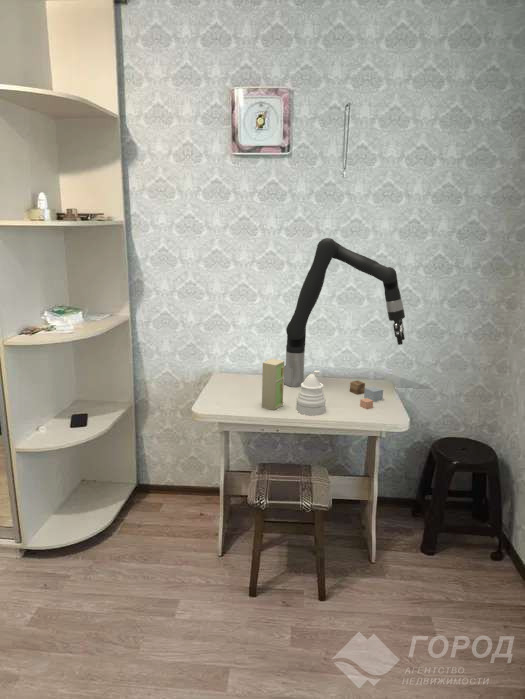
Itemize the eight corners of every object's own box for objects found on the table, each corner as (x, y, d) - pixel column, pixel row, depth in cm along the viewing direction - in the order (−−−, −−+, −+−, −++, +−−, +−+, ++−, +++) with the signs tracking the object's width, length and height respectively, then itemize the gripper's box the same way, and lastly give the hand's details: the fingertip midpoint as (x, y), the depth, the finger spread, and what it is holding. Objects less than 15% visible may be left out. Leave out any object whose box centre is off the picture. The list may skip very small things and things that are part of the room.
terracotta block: (366, 410, 235) (366, 402, 234) (359, 408, 238) (360, 399, 237) (372, 409, 237) (373, 400, 236) (366, 406, 241) (367, 398, 240)
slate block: (373, 402, 244) (373, 391, 243) (363, 398, 249) (364, 388, 247) (382, 399, 247) (383, 389, 246) (373, 396, 252) (374, 386, 251)
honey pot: (323, 405, 241) (325, 367, 236) (326, 415, 229) (328, 376, 224) (295, 404, 241) (296, 366, 236) (297, 415, 228) (298, 375, 224)
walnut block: (356, 394, 253) (357, 384, 252) (349, 391, 257) (350, 382, 256) (364, 393, 256) (365, 383, 255) (357, 390, 260) (358, 380, 259)
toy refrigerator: (275, 410, 233) (276, 365, 228) (261, 407, 237) (262, 362, 231) (284, 405, 240) (285, 360, 234) (270, 402, 243) (271, 358, 238)
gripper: (389, 307, 258) (395, 339, 261) (385, 313, 245) (391, 347, 248) (405, 305, 255) (410, 337, 258) (401, 311, 242) (407, 344, 245)
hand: (401, 342), depth 253 cm, fingers open, 8 cm apart
